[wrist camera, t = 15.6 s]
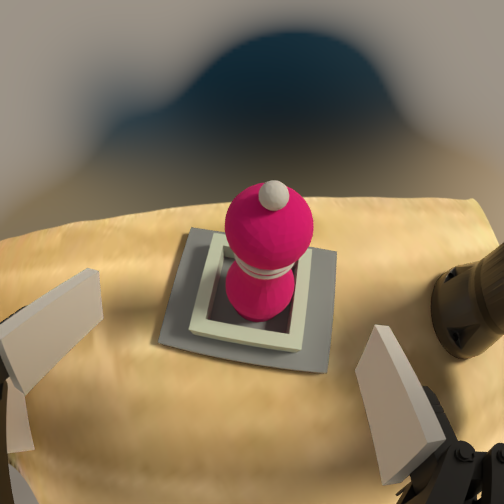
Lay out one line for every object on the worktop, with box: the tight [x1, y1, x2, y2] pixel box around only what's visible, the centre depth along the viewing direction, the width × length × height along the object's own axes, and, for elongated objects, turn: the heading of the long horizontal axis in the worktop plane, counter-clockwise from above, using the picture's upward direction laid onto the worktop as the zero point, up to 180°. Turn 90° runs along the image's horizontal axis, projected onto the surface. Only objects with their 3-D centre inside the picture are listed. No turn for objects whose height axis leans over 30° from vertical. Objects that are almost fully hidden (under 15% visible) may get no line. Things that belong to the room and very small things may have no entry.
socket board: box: [158, 227, 337, 374], centre depth 32 cm, size 20×16×4 cm
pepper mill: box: [225, 181, 313, 322], centre depth 24 cm, size 7×7×20 cm
